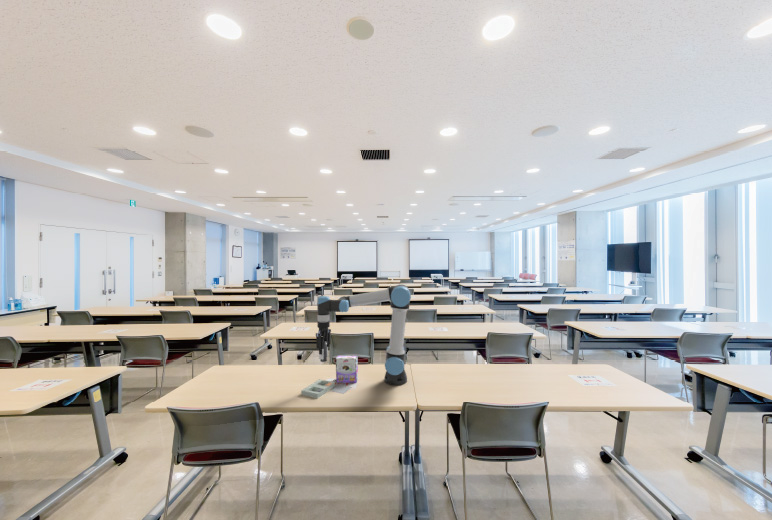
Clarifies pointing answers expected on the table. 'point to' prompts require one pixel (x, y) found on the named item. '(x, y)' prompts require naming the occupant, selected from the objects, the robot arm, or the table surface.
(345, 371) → the candy box
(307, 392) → the port box
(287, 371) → the table surface
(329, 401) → the table surface
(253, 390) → the table surface
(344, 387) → the mat
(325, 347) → the plug
